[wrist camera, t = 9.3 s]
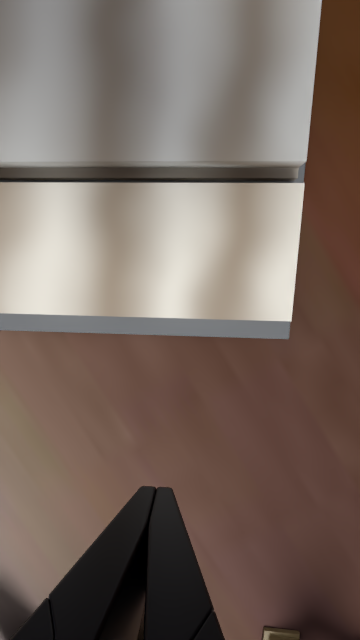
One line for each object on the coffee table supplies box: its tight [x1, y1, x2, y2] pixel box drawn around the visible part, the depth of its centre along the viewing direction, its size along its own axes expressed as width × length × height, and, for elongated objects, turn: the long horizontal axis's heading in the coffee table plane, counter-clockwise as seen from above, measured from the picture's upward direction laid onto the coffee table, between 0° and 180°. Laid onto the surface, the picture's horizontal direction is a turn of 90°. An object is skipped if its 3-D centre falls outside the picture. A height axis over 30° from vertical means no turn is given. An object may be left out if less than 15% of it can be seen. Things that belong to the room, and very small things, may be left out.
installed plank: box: [0, 0, 322, 181], centre depth 16 cm, size 18×8×2 cm, turn 89°
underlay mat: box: [0, 163, 305, 339], centre depth 18 cm, size 19×17×1 cm
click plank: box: [0, 182, 305, 321], centre depth 17 cm, size 18×7×2 cm, turn 89°
